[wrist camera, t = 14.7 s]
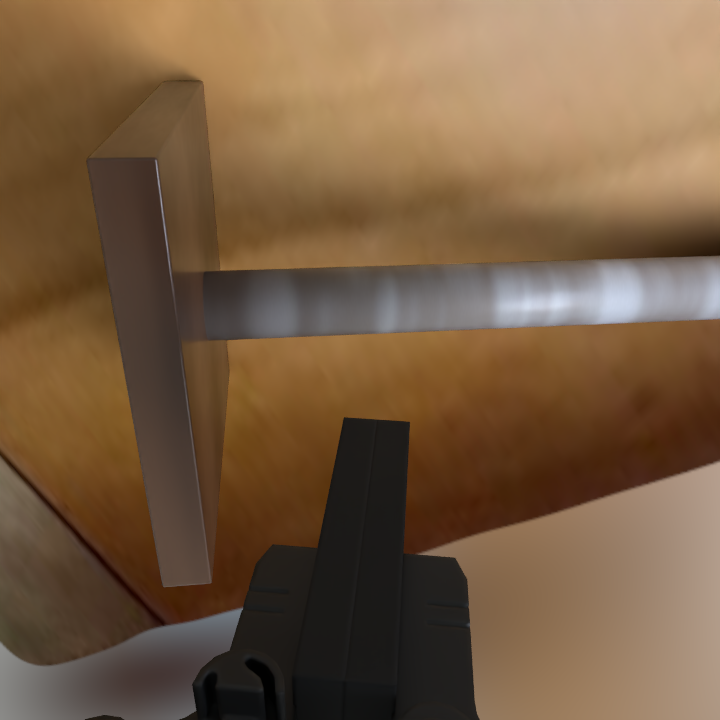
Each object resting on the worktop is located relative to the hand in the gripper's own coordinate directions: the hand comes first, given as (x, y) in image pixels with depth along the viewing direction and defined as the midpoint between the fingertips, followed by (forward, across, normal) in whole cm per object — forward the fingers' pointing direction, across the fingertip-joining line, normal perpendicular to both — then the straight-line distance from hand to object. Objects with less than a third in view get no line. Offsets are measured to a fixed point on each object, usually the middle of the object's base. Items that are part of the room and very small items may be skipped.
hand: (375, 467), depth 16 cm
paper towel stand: (+14, +3, 0) cm, 15 cm away
